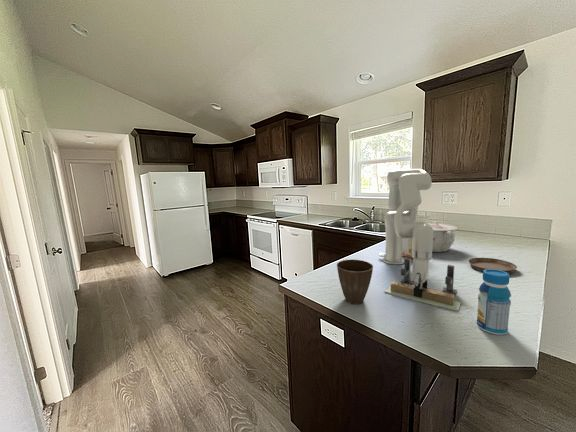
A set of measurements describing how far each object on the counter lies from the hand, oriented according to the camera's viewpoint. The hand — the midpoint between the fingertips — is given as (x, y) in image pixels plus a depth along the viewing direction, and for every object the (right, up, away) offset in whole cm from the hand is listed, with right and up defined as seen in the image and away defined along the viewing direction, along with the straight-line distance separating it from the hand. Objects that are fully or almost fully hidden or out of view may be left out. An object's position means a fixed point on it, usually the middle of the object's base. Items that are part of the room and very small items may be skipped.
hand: (420, 292), depth 107 cm
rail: (0, -2, 0) cm, 2 cm away
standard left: (+1, 0, +15) cm, 15 cm away
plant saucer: (+55, +4, +30) cm, 62 cm away
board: (0, -3, 0) cm, 2 cm away
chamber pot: (+46, +9, +68) cm, 83 cm away
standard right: (+14, -1, +3) cm, 15 cm away
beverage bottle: (+12, -5, -23) cm, 26 cm away
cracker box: (+22, +6, +57) cm, 61 cm away
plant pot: (-28, -4, +1) cm, 29 cm away
